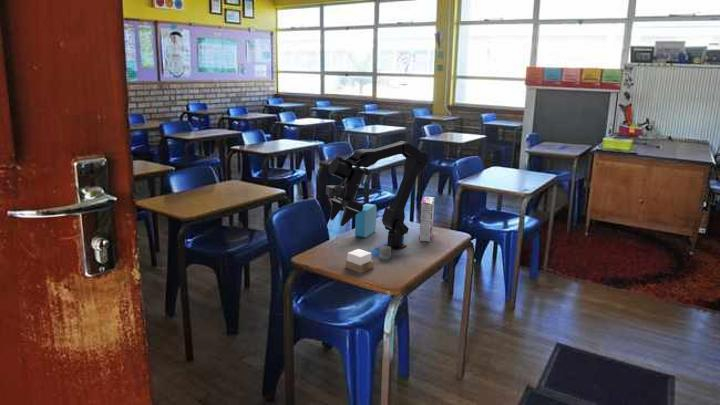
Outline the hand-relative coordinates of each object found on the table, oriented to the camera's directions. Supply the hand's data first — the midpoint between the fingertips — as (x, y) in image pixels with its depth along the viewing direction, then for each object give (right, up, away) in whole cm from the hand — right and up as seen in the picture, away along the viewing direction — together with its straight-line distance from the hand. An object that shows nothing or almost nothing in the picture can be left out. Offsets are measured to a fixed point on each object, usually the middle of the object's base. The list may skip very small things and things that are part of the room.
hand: (336, 222), depth 194 cm
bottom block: (+8, -16, -5) cm, 19 cm away
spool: (+18, -13, +5) cm, 23 cm away
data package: (+11, -6, +32) cm, 34 cm away
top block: (+8, -13, -6) cm, 17 cm away
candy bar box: (+36, -8, +29) cm, 47 cm away
